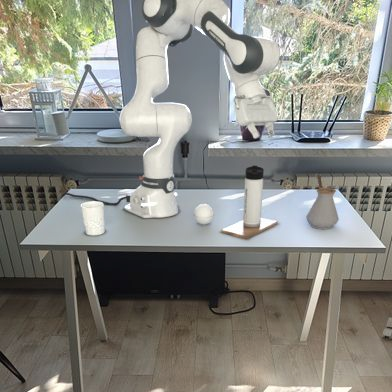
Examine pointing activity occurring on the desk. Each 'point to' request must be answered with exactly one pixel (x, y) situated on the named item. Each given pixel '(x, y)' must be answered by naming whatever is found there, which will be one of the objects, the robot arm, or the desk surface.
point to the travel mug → (253, 196)
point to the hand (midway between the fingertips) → (264, 137)
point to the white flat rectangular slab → (248, 228)
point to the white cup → (93, 217)
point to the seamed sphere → (203, 214)
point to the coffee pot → (323, 208)
